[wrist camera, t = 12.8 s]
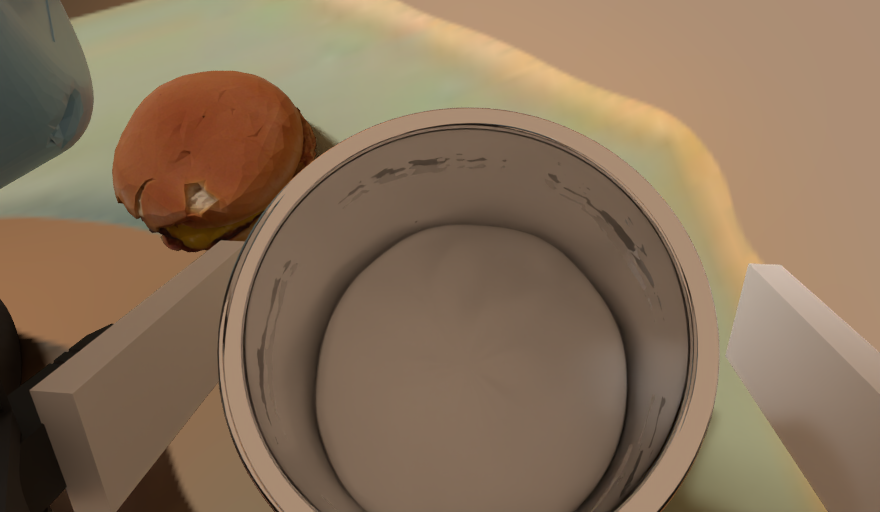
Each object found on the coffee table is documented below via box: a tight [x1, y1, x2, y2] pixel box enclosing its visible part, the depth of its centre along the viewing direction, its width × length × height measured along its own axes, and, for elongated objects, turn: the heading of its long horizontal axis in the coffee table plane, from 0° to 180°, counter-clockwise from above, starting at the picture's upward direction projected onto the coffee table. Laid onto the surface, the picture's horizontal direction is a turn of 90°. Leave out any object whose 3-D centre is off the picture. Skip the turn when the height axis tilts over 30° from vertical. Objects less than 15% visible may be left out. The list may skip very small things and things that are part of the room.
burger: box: [112, 71, 316, 252], centre depth 28 cm, size 10×9×5 cm
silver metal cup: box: [217, 108, 720, 512], centre depth 14 cm, size 7×7×15 cm
